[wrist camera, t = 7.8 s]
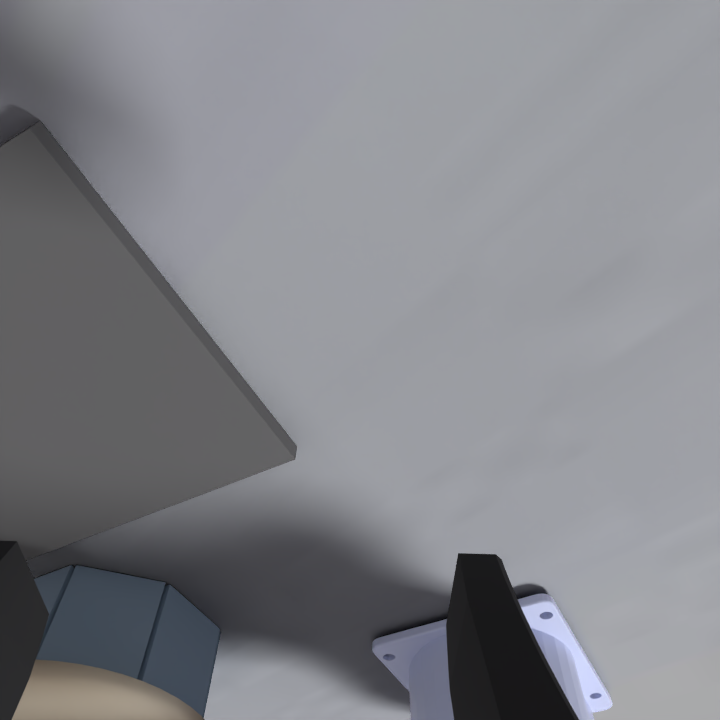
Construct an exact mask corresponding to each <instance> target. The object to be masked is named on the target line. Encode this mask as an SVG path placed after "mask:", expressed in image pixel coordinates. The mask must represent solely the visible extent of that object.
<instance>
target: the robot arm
mask: <svg viewBox="0 0 720 720" xmlns="http://www.w3.org/2000/svg"><path fill="white" fill-rule="evenodd" d="M48 617H49V613H48V610H47V608H46V606H45V604H44V601H43V599H42V597H41V594H40V592H39V590H38V588H37V585H36V583H35V581H34V578H33V576H32V574H31V572H30V569H29V567H28V565H27V563H26V560H25V558H24V556H23V553H22V551H21V549H20V547H19V544H18V542H17V541H0V720H12V718H13V715H14V713H15V711H16V709H17V706H18V704H19V702H20V699H21V697H22V695H23V692H24V690H25V688H26V685H27V683H28V681H29V678H30V675H31V672H32V669H33V666H34V663H35V660H36V657H37V654H38V651H39V647H40V644H41V641H42V637H43V634H44V630H45V627H46V624H47V620H48ZM372 651H373V653H374V654H375V655H376V657H377V658H378V659H379V660H380V661H381V662H382V663H383V664H384V665H385V666H386V667H387V668H388V670H389V671H390V672H391V673H392V674H393V675H394V676H395V677H396V678H397V679H398V680H399V681H400V683H401V684H402V685H403V686H404V687H405V688H406V689H407V690H408V691H409V692H410V713H411V720H594V717H593V713H594V712H599V711H603V710H607V709H609V708H610V707H611V706H612V700H611V696H610V694H609V693H608V691H607V689H606V688H605V686H604V684H603V683H602V681H601V679H600V678H599V676H598V674H597V672H596V671H595V669H594V667H593V666H592V664H591V662H590V661H589V659H588V657H587V655H586V654H585V652H584V650H583V649H582V647H581V645H580V644H579V642H578V640H577V639H576V637H575V635H574V633H573V632H572V630H571V628H570V627H569V625H568V623H567V622H566V620H565V618H564V617H563V615H562V613H561V611H560V610H559V608H558V606H557V605H556V603H555V601H554V600H553V598H552V597H551V596H550V595H547V594H535V595H532V596H528V597H524V598H521V599H517V597H516V595H515V592H514V590H513V588H512V585H511V583H510V580H509V578H508V576H507V573H506V570H505V568H504V565H503V562H502V560H501V559H500V558H499V557H498V556H497V555H495V554H459V553H458V559H457V564H456V570H455V576H454V582H453V588H452V593H451V599H450V605H449V611H448V617H447V619H444V620H441V621H437V622H434V623H430V624H426V625H423V626H419V627H415V628H412V629H408V630H405V631H401V632H397V633H394V634H390V635H386V636H383V637H379V638H377V639H375V640H374V641H373V643H372Z"/></svg>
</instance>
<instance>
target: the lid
mask: <svg viewBox="0 0 720 720" xmlns="http://www.w3.org/2000/svg"><path fill="white" fill-rule="evenodd" d="M12 720H204V719H203V717H202V716H201V715H200V714H198V713H197V712H196V711H195V710H194V709H193V708H191V707H190V706H189V705H187V704H186V703H184V702H183V701H181V700H180V699H178V698H177V697H175V696H173V695H171V694H169V693H167V692H166V691H164V690H162V689H160V688H157V687H155V686H153V685H151V684H148V683H146V682H144V681H141V680H138V679H135V678H132V677H129V676H127V675H124V674H120V673H116V672H113V671H109V670H105V669H101V668H97V667H92V666H87V665H82V664H75V663H68V662H61V661H49V660H35V663H34V666H33V669H32V672H31V675H30V678H29V681H28V683H27V685H26V688H25V690H24V692H23V695H22V697H21V699H20V702H19V704H18V706H17V709H16V711H15V713H14V715H13V718H12Z"/></svg>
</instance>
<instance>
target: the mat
mask: <svg viewBox="0 0 720 720" xmlns="http://www.w3.org/2000/svg"><path fill="white" fill-rule="evenodd" d="M296 450H297V446H296V445H295V443H294V442H293V441H292V440H291V438H290V437H289V436H288V435H287V433H286V432H285V431H284V429H283V428H282V427H281V426H280V424H279V423H278V422H277V421H276V419H275V418H274V417H273V415H272V414H271V413H270V412H269V410H268V409H267V408H266V407H265V405H264V404H263V403H262V402H261V400H260V399H259V398H258V396H257V395H256V394H255V393H254V391H253V390H252V389H251V388H250V386H249V385H248V384H247V382H246V381H245V380H244V379H243V377H242V376H241V375H240V374H239V372H238V371H237V370H236V369H235V367H234V366H233V365H232V363H231V362H230V361H229V360H228V358H227V357H226V356H225V355H224V353H223V352H222V351H221V349H220V348H219V347H218V346H217V344H216V343H215V342H214V341H213V339H212V338H211V337H210V336H209V334H208V333H207V332H206V330H205V329H204V328H203V327H202V325H201V324H200V323H199V322H198V320H197V319H196V318H195V316H194V315H193V314H192V313H191V311H190V310H189V309H188V308H187V306H186V305H185V304H184V303H183V301H182V300H181V299H180V297H179V296H178V295H177V294H176V292H175V291H174V290H173V289H172V287H171V286H170V285H169V283H168V282H167V281H166V280H165V278H164V277H163V276H162V275H161V273H160V272H159V271H158V270H157V268H156V267H155V266H154V264H153V263H152V262H151V261H150V259H149V258H148V257H147V256H146V254H145V253H144V252H143V250H142V249H141V248H140V247H139V245H138V244H137V243H136V242H135V240H134V239H133V238H132V237H131V235H130V234H129V233H128V231H127V230H126V229H125V228H124V226H123V225H122V224H121V223H120V221H119V220H118V219H117V217H116V216H115V215H114V214H113V212H112V211H111V210H110V209H109V207H108V206H107V205H106V204H105V202H104V201H103V200H102V198H101V197H100V196H99V195H98V193H97V192H96V191H95V190H94V188H93V187H92V186H91V184H90V183H89V182H88V181H87V179H86V178H85V177H84V176H83V174H82V173H81V172H80V171H79V169H78V168H77V167H76V165H75V164H74V163H73V162H72V160H71V159H70V158H69V157H68V155H67V154H66V153H65V151H64V150H63V149H62V148H61V146H60V145H59V144H58V143H57V141H56V140H55V139H54V138H53V136H52V135H51V134H50V132H49V131H48V130H47V129H46V127H45V126H44V125H43V124H42V122H41V121H39V122H37V123H36V124H34V125H33V126H31V127H30V128H28V129H26V130H25V131H23V132H22V133H20V134H18V135H17V136H15V137H14V138H12V139H10V140H9V141H7V142H6V143H4V144H2V145H1V146H0V541H17V542H18V544H19V547H20V549H21V551H22V553H23V556H24V558H25V560H26V561H27V560H29V559H32V558H34V557H37V556H40V555H42V554H45V553H48V552H50V551H53V550H56V549H58V548H61V547H64V546H66V545H69V544H72V543H74V542H77V541H80V540H82V539H85V538H88V537H90V536H93V535H96V534H98V533H101V532H103V531H106V530H109V529H111V528H114V527H117V526H119V525H122V524H125V523H127V522H130V521H133V520H135V519H138V518H141V517H143V516H146V515H149V514H151V513H154V512H157V511H159V510H162V509H165V508H167V507H170V506H173V505H175V504H178V503H180V502H183V501H186V500H188V499H191V498H194V497H196V496H199V495H202V494H204V493H207V492H210V491H212V490H215V489H218V488H220V487H223V486H226V485H228V484H231V483H234V482H236V481H239V480H242V479H244V478H247V477H250V476H252V475H255V474H257V473H260V472H263V471H265V470H268V469H271V468H273V467H276V466H279V465H281V464H284V463H287V462H289V461H292V460H295V457H296Z"/></svg>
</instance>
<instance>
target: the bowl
mask: <svg viewBox="0 0 720 720" xmlns="http://www.w3.org/2000/svg"><path fill="white" fill-rule="evenodd" d="M34 581H35V583H36V585H37V588H38V590H39V592H40V594H41V597H42V599H43V601H44V604H45V606H46V608H47V610H48V613H49V617H48V620H47V624H46V627H45V630H44V634H43V637H42V641H41V644H40V647H39V651H38V654H37V657H36V660H49V661H61V662H68V663H75V664H82V665H87V666H92V667H97V668H101V669H105V670H109V671H113V672H116V673H120V674H124V675H127V676H129V677H132V678H135V679H138V680H141V681H144V682H146V683H148V684H151V685H153V686H155V687H157V688H160V689H162V690H164V691H166V692H167V693H169V694H171V695H173V696H175V697H177V698H178V699H180V700H181V701H183V702H184V703H186V704H187V705H189V706H190V707H191V708H193V709H194V710H195V711H196V712H197V713H198V714H200V715H201V716H202V717H203V718H204V713H205V708H206V703H207V698H208V693H209V688H210V683H211V678H212V673H213V668H214V663H215V659H216V654H217V649H218V644H219V639H220V634H221V632H220V629H219V628H218V627H217V626H216V625H215V624H214V623H213V622H212V621H210V620H209V619H208V618H207V617H206V616H205V615H204V614H203V613H202V612H200V611H199V610H198V609H197V608H196V607H195V606H194V605H193V604H191V603H190V602H189V601H188V600H187V599H186V598H185V597H184V596H182V595H181V594H180V593H179V592H178V591H177V590H176V589H175V588H173V587H172V586H171V585H167V586H165V583H166V582H161V581H156V580H150V579H145V578H140V577H135V576H130V575H125V574H120V573H115V572H109V571H104V570H99V569H94V568H89V567H84V566H79V565H76V567H75V568H74V567H73V566H71V565H70V566H68V567H65V568H62V569H60V570H57V571H54V572H51V573H49V574H46V575H43V576H40V577H38V578H35V579H34Z"/></svg>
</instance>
